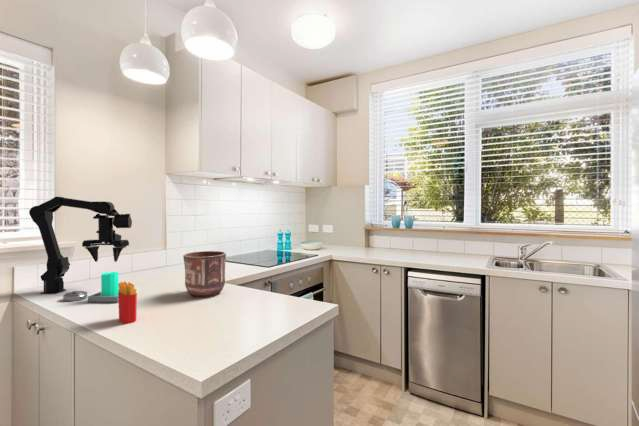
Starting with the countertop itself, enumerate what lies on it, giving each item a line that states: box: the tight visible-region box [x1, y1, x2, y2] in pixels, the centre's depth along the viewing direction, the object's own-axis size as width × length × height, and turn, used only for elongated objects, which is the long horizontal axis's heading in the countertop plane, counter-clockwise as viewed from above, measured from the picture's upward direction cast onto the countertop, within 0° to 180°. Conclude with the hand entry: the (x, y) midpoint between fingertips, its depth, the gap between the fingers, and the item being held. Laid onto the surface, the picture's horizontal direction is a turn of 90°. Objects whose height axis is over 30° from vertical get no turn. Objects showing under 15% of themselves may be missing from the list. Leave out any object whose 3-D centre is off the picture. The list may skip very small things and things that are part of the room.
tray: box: [87, 291, 119, 304], centre depth 135 cm, size 12×12×2 cm
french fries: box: [118, 281, 138, 324], centre depth 109 cm, size 9×4×13 cm, turn 48°
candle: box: [100, 271, 120, 296], centre depth 134 cm, size 6×6×12 cm
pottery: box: [183, 250, 227, 298], centre depth 143 cm, size 18×18×18 cm
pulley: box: [62, 290, 88, 303], centre depth 134 cm, size 8×8×3 cm
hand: (106, 261), depth 150 cm, fingers open, 9 cm apart
